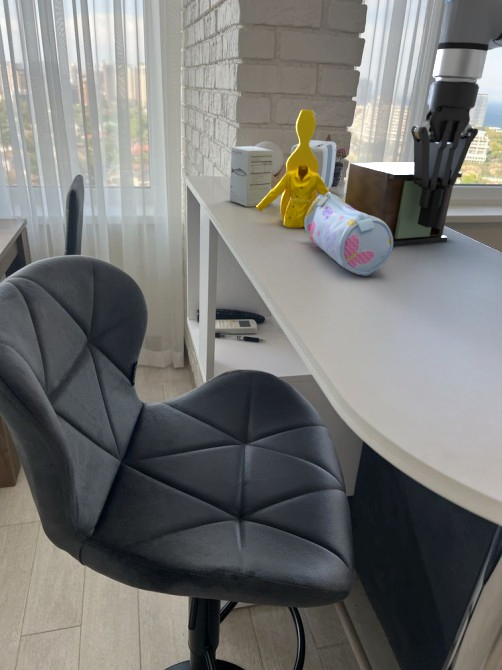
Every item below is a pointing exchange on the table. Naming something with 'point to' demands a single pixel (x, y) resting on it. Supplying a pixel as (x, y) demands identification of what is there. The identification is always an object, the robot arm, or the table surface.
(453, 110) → the robot arm
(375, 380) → the table surface
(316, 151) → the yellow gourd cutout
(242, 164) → the white packaging box
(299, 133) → the figure statuette
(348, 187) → the cabinet
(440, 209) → the sliding door
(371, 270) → the pencil case
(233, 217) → the table surface
